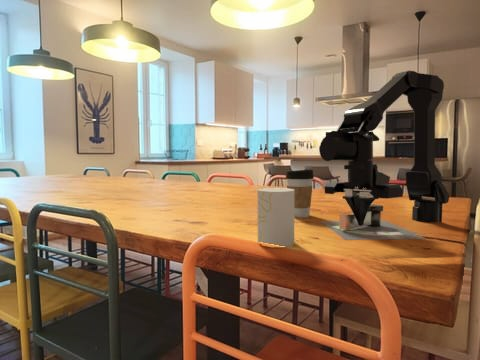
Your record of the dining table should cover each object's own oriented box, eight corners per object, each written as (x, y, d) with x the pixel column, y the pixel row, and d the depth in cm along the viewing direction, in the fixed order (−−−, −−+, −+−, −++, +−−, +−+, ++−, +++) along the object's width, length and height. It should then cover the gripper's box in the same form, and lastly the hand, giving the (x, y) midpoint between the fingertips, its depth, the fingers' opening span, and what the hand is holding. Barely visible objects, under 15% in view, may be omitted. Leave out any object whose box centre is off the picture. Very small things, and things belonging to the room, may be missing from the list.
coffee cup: (313, 221, 100) (314, 170, 99) (284, 220, 102) (284, 170, 101) (313, 216, 108) (313, 168, 107) (286, 215, 110) (286, 168, 109)
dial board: (385, 224, 96) (385, 219, 96) (426, 242, 76) (426, 237, 76) (321, 225, 95) (321, 220, 95) (345, 244, 75) (345, 238, 75)
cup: (255, 239, 80) (255, 188, 80) (289, 238, 81) (289, 187, 80) (260, 248, 72) (260, 192, 71) (298, 247, 73) (298, 191, 72)
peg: (370, 222, 93) (370, 203, 92) (386, 225, 89) (387, 205, 88) (334, 230, 84) (334, 209, 84) (350, 233, 81) (351, 211, 80)
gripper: (417, 159, 78) (417, 227, 79) (352, 160, 94) (353, 217, 95) (386, 159, 73) (386, 233, 73) (322, 161, 89) (323, 221, 89)
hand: (360, 225), depth 83 cm, fingers closed
